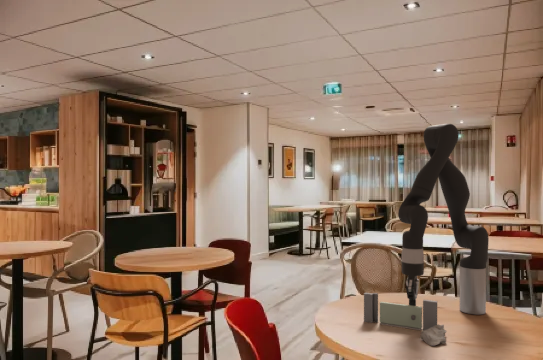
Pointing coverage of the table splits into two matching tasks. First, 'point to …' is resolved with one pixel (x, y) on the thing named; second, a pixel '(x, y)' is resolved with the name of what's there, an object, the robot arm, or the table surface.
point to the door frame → (372, 316)
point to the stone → (434, 335)
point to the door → (401, 314)
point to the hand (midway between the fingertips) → (412, 309)
